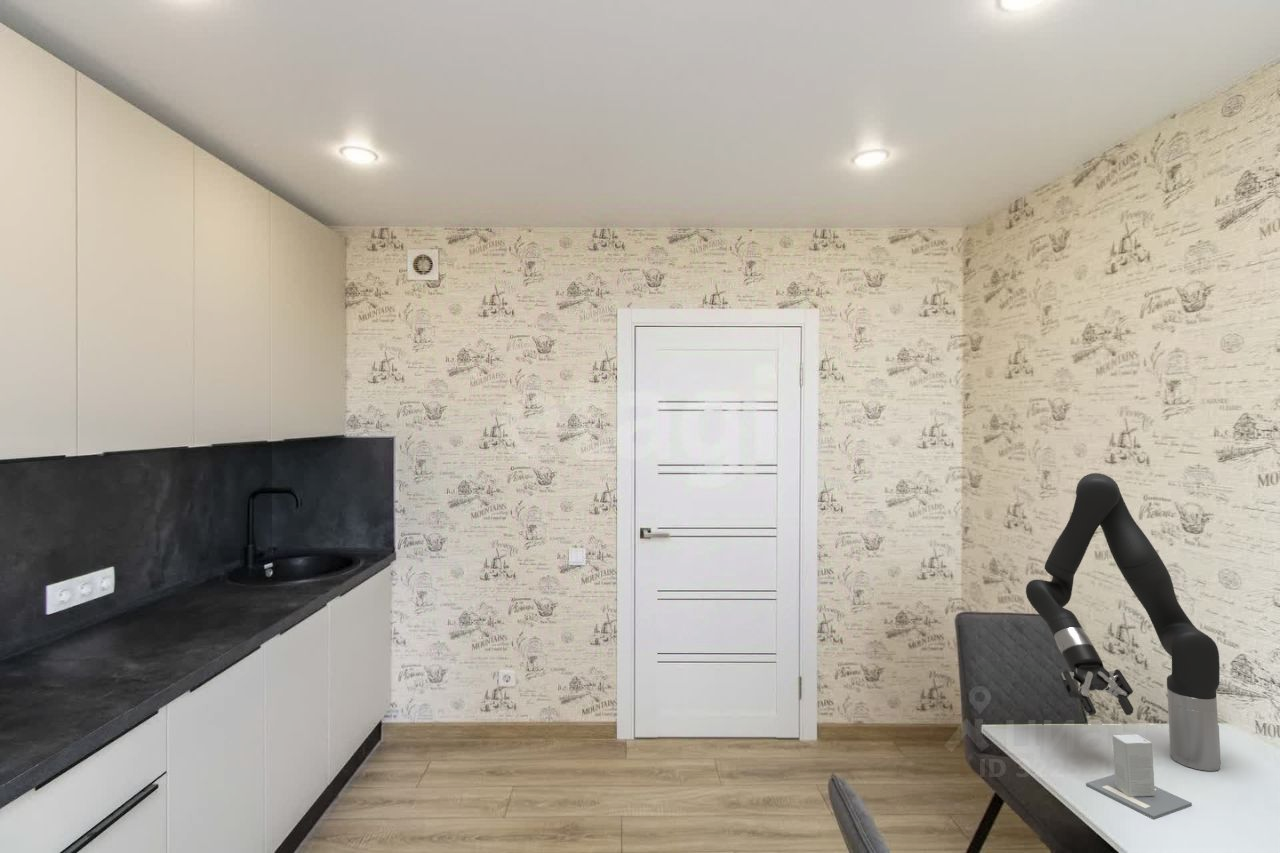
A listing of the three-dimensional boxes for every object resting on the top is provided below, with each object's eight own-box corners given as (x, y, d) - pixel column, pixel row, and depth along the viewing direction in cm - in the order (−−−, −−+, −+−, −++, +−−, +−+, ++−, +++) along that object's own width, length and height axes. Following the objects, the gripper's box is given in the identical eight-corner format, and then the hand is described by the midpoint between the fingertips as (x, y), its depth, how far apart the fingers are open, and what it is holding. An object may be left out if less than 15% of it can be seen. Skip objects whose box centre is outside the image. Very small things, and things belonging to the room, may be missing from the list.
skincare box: (1139, 786, 142) (1137, 733, 142) (1155, 796, 138) (1153, 742, 138) (1113, 786, 142) (1111, 734, 142) (1128, 797, 137) (1126, 743, 138)
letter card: (1123, 774, 148) (1122, 771, 148) (1191, 805, 135) (1191, 802, 135) (1086, 785, 144) (1085, 782, 144) (1153, 819, 130) (1153, 816, 131)
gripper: (1055, 643, 157) (1088, 707, 145) (1112, 642, 156) (1150, 707, 144) (1043, 657, 162) (1074, 720, 150) (1098, 656, 161) (1134, 720, 149)
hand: (1111, 713), depth 147 cm, fingers open, 8 cm apart
